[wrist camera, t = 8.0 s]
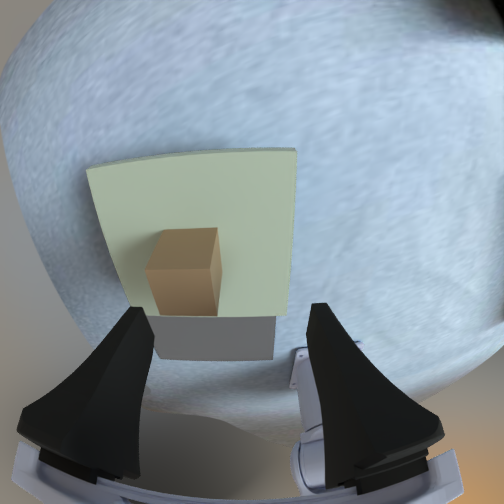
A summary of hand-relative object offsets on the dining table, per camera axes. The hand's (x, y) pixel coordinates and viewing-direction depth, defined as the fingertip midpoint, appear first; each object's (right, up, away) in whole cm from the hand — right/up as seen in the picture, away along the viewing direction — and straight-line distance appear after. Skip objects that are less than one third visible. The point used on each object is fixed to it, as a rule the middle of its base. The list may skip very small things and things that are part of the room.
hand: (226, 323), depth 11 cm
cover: (-2, +3, +5) cm, 6 cm away
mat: (-3, -4, +14) cm, 15 cm away
